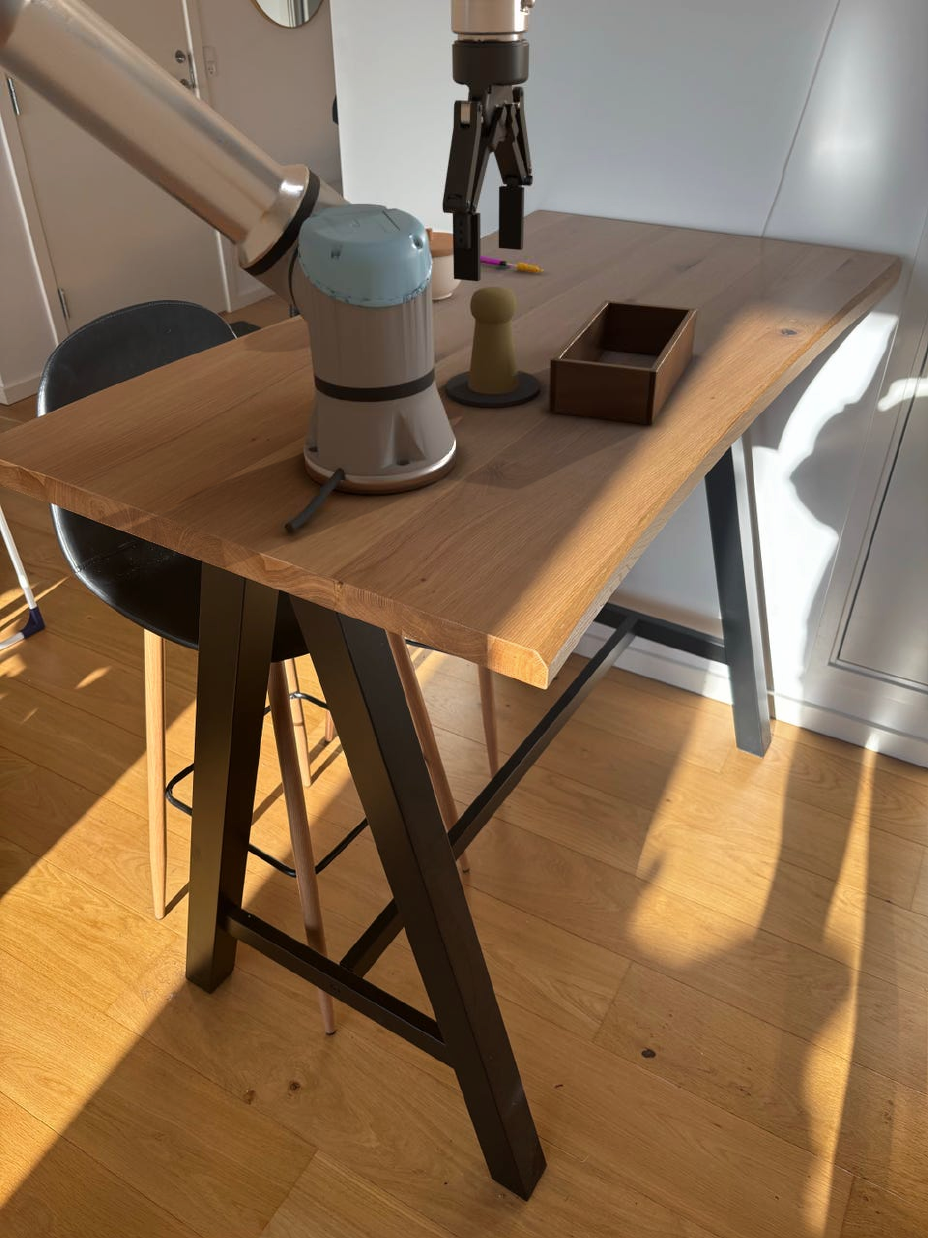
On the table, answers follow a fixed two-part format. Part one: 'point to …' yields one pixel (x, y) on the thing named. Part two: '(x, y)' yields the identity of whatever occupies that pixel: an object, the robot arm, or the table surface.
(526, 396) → the coaster
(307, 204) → the robot arm
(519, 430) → the table surface
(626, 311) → the box
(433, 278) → the trinket box
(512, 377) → the cork
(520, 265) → the multicoloured piece
